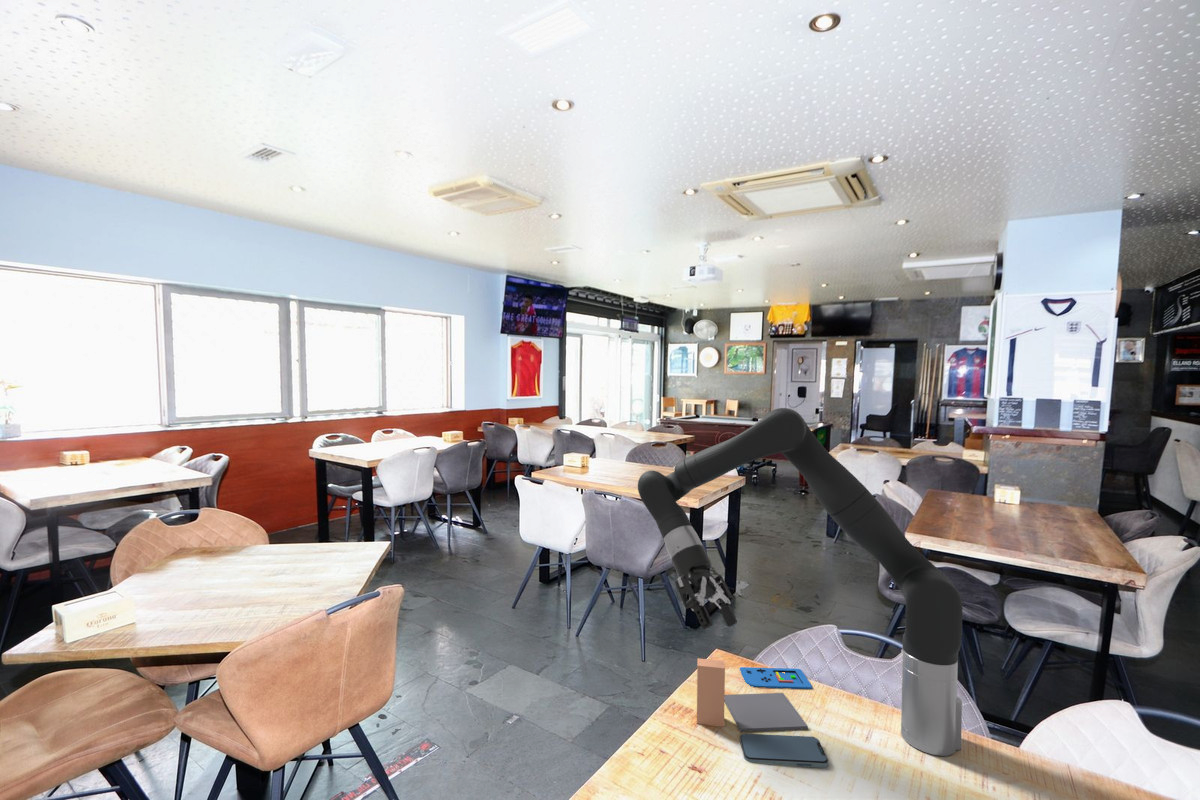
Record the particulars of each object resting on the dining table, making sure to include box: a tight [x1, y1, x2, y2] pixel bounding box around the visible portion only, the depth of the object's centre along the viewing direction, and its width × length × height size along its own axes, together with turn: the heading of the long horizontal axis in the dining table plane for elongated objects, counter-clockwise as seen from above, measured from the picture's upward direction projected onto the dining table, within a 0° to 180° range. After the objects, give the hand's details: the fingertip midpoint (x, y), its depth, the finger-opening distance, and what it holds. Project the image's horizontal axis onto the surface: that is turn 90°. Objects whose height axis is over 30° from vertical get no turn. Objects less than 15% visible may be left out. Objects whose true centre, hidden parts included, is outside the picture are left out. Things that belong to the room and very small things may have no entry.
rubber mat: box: [724, 692, 809, 733], centre depth 113 cm, size 14×12×1 cm
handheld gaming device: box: [739, 666, 813, 690], centre depth 127 cm, size 8×1×15 cm
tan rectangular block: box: [696, 658, 726, 727], centre depth 110 cm, size 6×3×12 cm, turn 79°
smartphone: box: [739, 732, 829, 769], centre depth 101 cm, size 8×2×15 cm
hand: (721, 626), depth 106 cm, fingers open, 8 cm apart
